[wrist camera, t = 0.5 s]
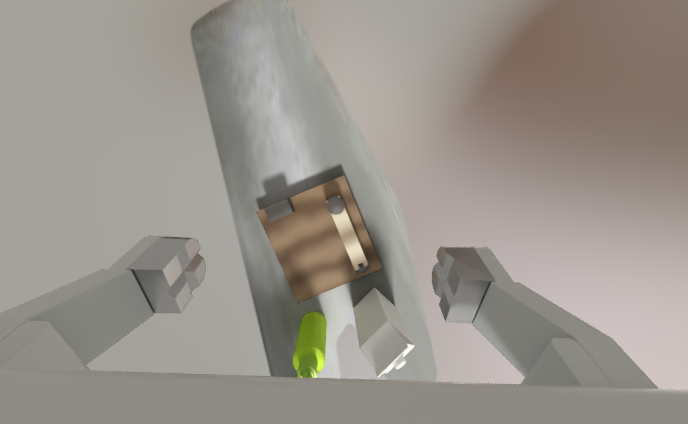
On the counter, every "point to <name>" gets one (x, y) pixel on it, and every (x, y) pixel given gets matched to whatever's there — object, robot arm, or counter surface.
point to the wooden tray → (315, 239)
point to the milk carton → (381, 333)
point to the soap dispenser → (310, 346)
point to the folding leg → (347, 234)
